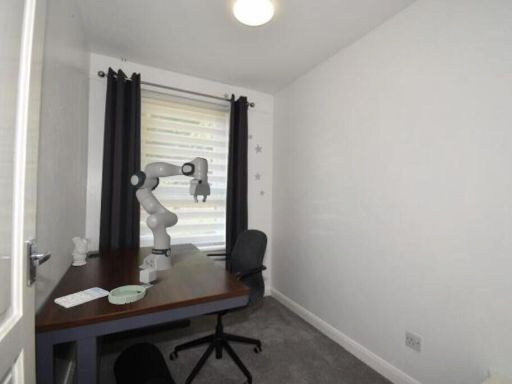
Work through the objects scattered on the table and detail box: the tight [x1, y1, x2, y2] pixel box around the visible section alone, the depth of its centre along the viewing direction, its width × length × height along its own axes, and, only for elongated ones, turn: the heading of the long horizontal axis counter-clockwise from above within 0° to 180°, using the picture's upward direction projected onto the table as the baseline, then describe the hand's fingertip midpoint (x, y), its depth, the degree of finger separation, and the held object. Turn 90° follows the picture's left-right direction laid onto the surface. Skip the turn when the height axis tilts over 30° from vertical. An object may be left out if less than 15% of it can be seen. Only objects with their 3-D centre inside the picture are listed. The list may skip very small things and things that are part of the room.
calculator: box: [54, 287, 110, 309], centre depth 128 cm, size 13×20×2 cm, turn 150°
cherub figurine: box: [71, 234, 92, 267], centre depth 187 cm, size 12×12×22 cm
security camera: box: [139, 268, 157, 290], centre depth 144 cm, size 6×7×10 cm
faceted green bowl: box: [107, 284, 147, 305], centre depth 130 cm, size 17×17×3 cm
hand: (200, 202), depth 168 cm, fingers open, 8 cm apart
